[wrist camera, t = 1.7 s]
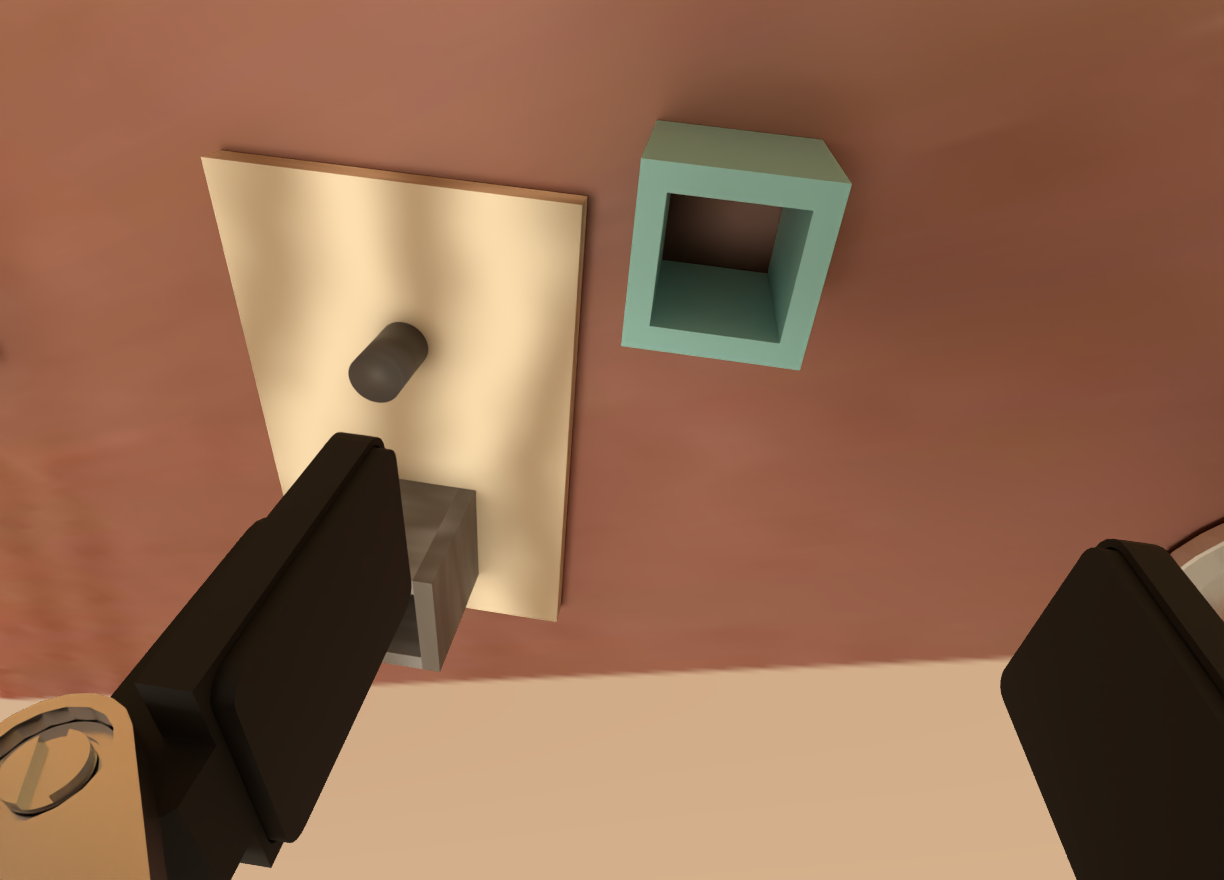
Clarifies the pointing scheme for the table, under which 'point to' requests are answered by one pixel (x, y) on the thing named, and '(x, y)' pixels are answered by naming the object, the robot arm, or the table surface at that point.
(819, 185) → the teal wall cubby
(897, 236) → the table surface
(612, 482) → the table surface
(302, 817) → the robot arm
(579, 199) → the seat plate
